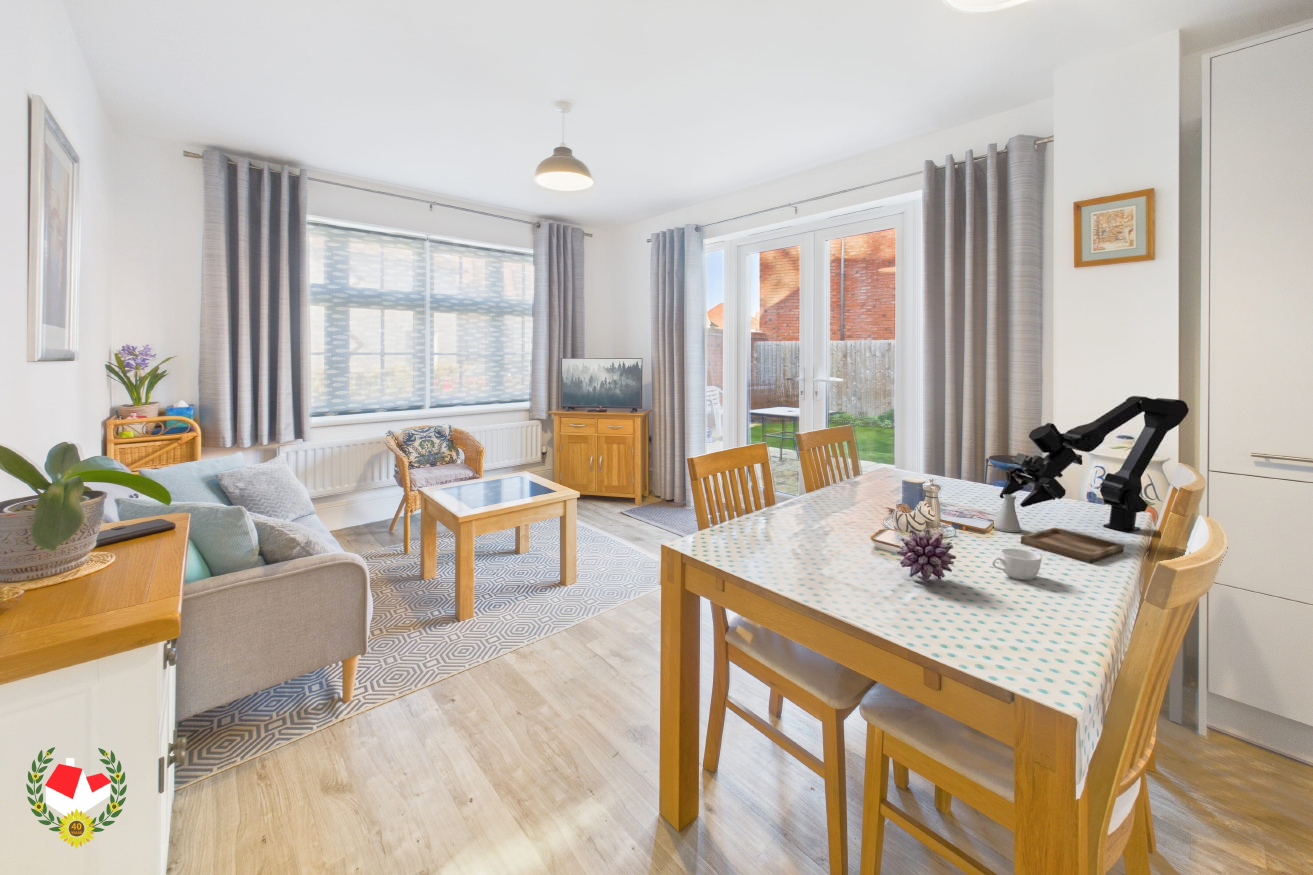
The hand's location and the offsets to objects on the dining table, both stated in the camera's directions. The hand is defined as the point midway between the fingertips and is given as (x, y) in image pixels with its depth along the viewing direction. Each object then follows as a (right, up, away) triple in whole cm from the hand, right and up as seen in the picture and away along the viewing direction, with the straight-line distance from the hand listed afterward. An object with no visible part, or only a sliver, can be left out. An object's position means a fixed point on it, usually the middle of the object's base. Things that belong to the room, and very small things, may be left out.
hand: (1010, 501), depth 155 cm
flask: (0, -8, +1) cm, 8 cm away
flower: (-42, -14, -34) cm, 56 cm away
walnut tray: (+6, -10, -14) cm, 19 cm away
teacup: (-20, -14, -32) cm, 40 cm away
